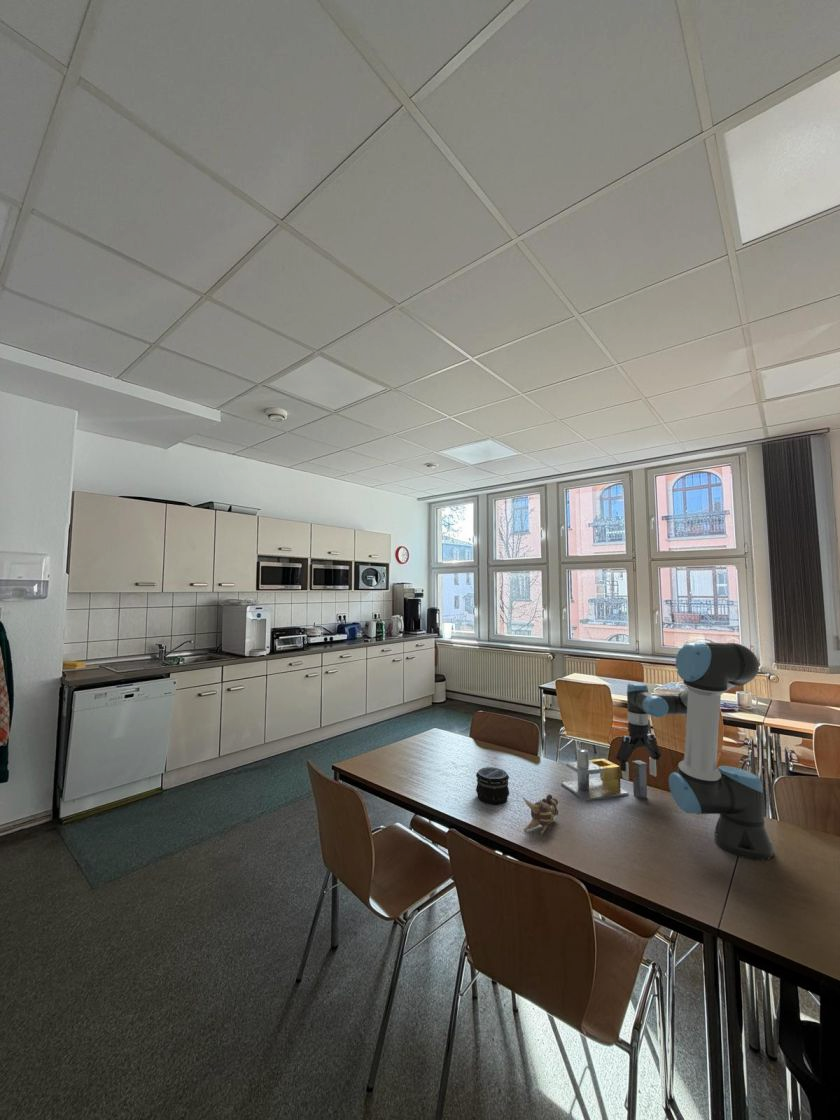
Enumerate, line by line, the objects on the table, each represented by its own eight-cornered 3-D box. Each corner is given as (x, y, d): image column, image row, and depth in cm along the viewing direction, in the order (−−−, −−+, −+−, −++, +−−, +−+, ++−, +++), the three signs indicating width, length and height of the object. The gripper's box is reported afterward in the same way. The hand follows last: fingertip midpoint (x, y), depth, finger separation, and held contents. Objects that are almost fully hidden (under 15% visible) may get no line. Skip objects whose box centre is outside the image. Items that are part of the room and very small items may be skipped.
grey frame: (628, 795, 178) (627, 753, 180) (586, 801, 172) (585, 758, 174) (600, 779, 193) (600, 741, 195) (561, 784, 188) (560, 745, 189)
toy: (568, 827, 154) (543, 839, 144) (547, 820, 160) (522, 831, 150) (566, 793, 156) (542, 802, 146) (546, 787, 162) (521, 796, 152)
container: (506, 808, 165) (506, 780, 166) (472, 803, 170) (472, 776, 170) (511, 794, 177) (511, 768, 178) (479, 790, 182) (479, 764, 182)
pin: (647, 797, 176) (646, 763, 177) (640, 798, 175) (639, 764, 176) (640, 793, 180) (639, 760, 181) (632, 794, 179) (631, 761, 180)
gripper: (655, 717, 187) (656, 770, 186) (605, 722, 180) (606, 776, 178) (670, 722, 180) (671, 777, 179) (619, 727, 173) (620, 784, 171)
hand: (639, 777), depth 178 cm, fingers open, 13 cm apart
